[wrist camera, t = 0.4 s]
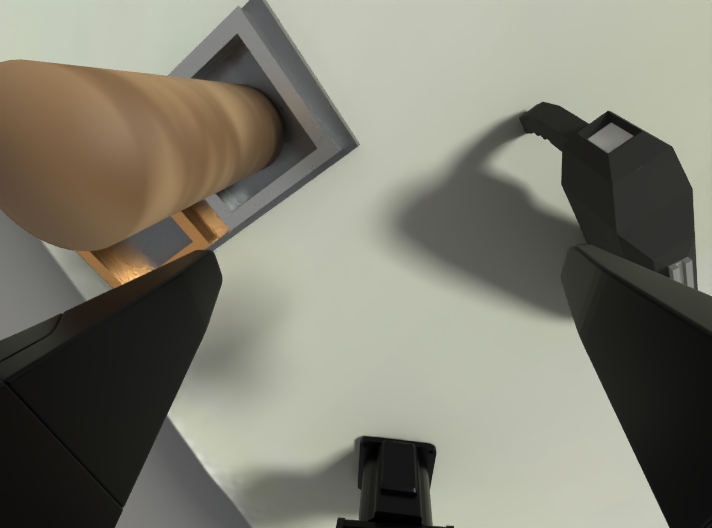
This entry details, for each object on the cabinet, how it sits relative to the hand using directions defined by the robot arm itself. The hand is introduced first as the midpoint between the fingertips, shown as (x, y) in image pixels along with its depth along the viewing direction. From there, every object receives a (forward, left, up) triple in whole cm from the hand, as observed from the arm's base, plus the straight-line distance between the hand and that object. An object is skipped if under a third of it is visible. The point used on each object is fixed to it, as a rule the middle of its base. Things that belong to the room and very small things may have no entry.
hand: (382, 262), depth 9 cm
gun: (-2, -12, -15) cm, 19 cm away
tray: (-1, +13, -14) cm, 19 cm away
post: (+2, +9, -13) cm, 16 cm away
